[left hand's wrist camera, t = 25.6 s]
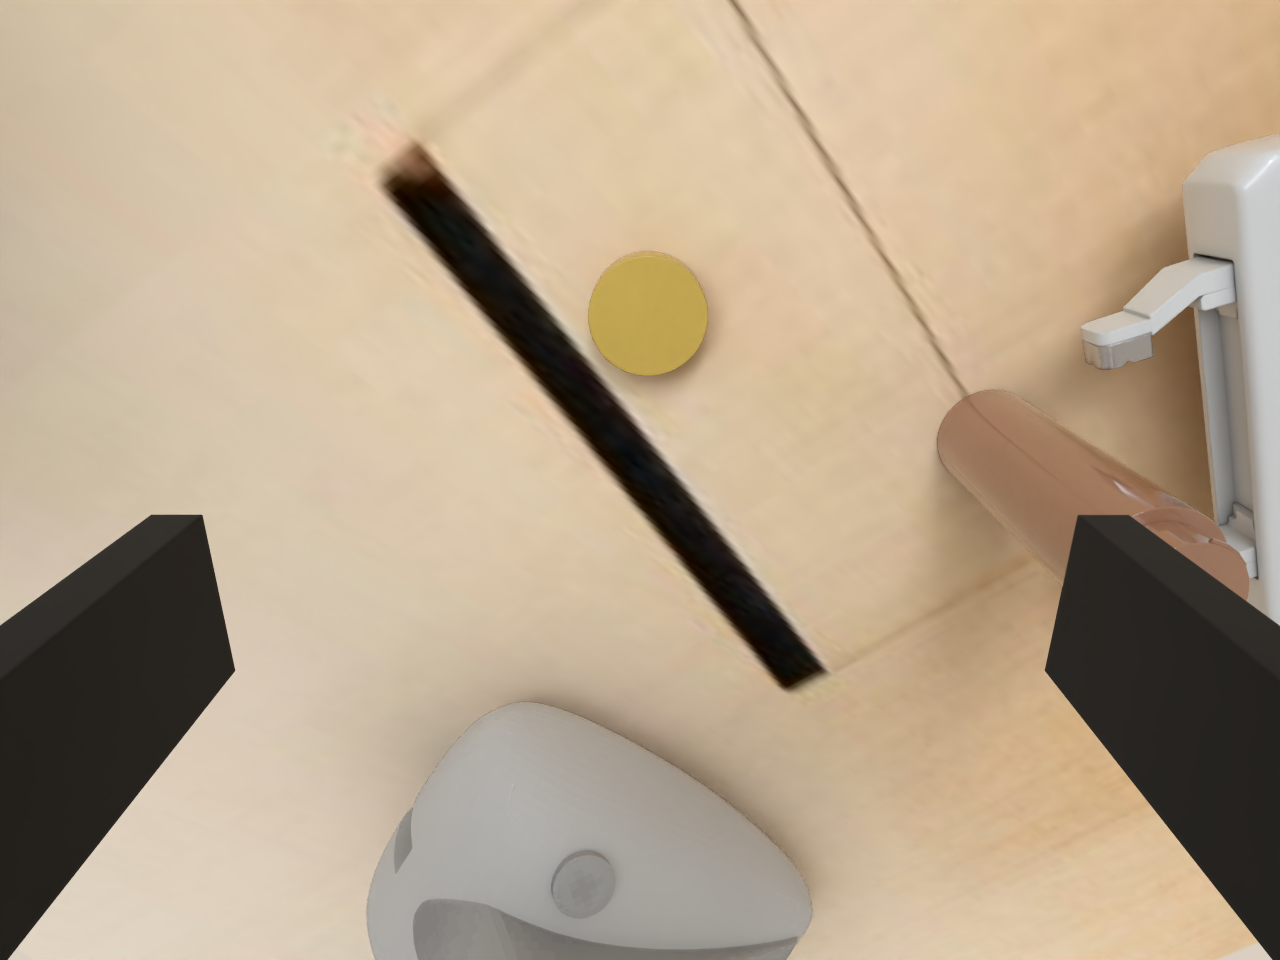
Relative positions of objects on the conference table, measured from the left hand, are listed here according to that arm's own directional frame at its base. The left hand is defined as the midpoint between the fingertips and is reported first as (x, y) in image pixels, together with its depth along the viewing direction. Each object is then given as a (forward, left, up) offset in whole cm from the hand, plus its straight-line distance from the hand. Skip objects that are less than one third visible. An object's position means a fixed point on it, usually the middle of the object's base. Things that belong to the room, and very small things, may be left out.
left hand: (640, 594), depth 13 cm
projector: (-1, -30, -26) cm, 40 cm away
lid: (0, 0, -24) cm, 24 cm away
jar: (+16, -6, -26) cm, 31 cm away
